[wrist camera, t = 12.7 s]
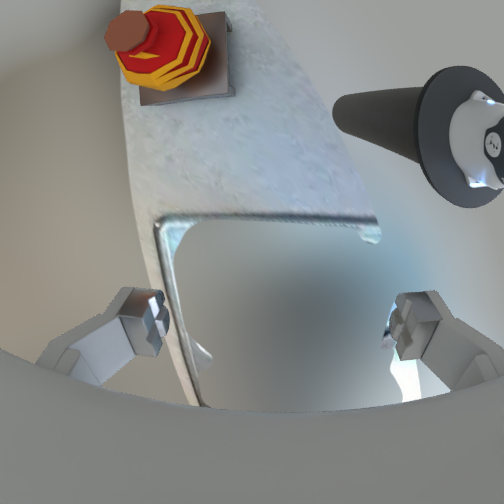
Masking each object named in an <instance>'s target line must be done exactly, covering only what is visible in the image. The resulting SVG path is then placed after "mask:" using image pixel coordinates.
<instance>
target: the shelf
mask: <svg viewBox="0 0 504 504" xmlns="http://www.w3.org/2000/svg"><path fill="white" fill-rule="evenodd" d="M196 16H197V17H198V19H199V21H200V23H201V25H202V26H203V28H204V30H205V32H206V34H207V35H208V37H209V39H210V41H211V43H210V46H209V49H208V52H207V55H206V58H205V61H204V64H203V66H202V67H201V69H200V71H199V73H197V74H195V75H194V76H192V77H190V78H189V79H187V80H186V81H184V82H183V83H181V84H180V85H178V86H177V87H175V88H172V89H169V90H166V91H160V90H156V89H152V88H147V87H143V86H139V90H140V104H141V106H152V105H164V104H170V103H177V102H183V101H191V100H199V99H208V98H218V97H230V96H235V88H233V87H231V86H229V67H228V46H227V32H232V25H231V23H230V21H229V19H228V17H227V15H226V13H225V11H224V12H215V13H208V14H201V15H196ZM208 44H209V43H208Z"/></svg>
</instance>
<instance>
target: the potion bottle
mask: <svg viewBox="0 0 504 504" xmlns="http://www.w3.org/2000/svg"><path fill="white" fill-rule="evenodd" d="M176 9H179V10H176ZM104 39H105V41H106V43H107V45H108V47H109V49H110V50H114V51H116V52H115V56H116V58H117V60H118V62H119V65H120V67H121V69H122V71H123V74H124V76H125V78H126V80H127V81H128V82H129V83H130V84H135V85H139V86H143V87H147V88H152V89H156V90H160V91H166V90H169V89H172V88H175V87H177V86H178V85H180V84H181V83H183V82H184V81H186V80H187V79H189V78H190V77H192V76H194V75H195V74H197V73H199V71H200V69H201V67H202V66H203V64H204V61H205V58H206V55H207V52H208V49H209V46H210V43H211V41H210V39H209V37H208V35H207V34H206V32H205V30H204V28H203V26H202V25H201V23H200V21H199V19H198V17H197V16H196V15H194V14H193V12H192V10H191V9H189V8H182V7H175V6H167V5H156V6H154V7H152V8H150V9H149V10H147V11H146V12H145V13H143V12H142V11H129V10H126V11H124V12H123V13H121V14H120V15H119V16H117V17H116V18H115V19H113V20H112V21H111V22H110V24H109V26H108V29H107V32H106V34H105V37H104ZM208 43H209V44H208Z"/></svg>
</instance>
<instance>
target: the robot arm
mask: <svg viewBox="0 0 504 504" xmlns="http://www.w3.org/2000/svg"><path fill="white" fill-rule="evenodd" d="M449 141H450V147H451V151H452V155H453V157H454V159H455V161H456V163H457V165H458V166H459V167H460V169H461V170H462V171H463V173H464V175H465V178H466V182H467V184H468V186H470V187H472V188H477V187H485V186H488V187H490V188H492V189H495V190H498V188H504V104H502V103H499V102H495V101H494V100H493V99H491V98H490V97H488V96H487V95H486V94H484V93H483V92H481V91H478V90H475V91H474V92H473V93H472V95H471V97H470V99H469V100H467V101H466V102H464V103H462V104H461V105H460V106H459V107H458V108H457V109H456V111H455V112H454V114H453V117H452V119H451V123H450V130H449ZM476 181H477V182H476ZM164 301H165V297H164V294H163V292H162V291H161V290H157V289H146V288H133V287H123V288H121V289H120V291H119V292H118V294H117V295H116V296H115V298H114V299H113V300H112V302H111V303H110V305H109V306H108V307H107V309H106V310H105V312H104V313H103V314H98V315H96V316H94V317H93V318H91V319H89V320H87V321H85V322H84V323H82V324H80V325H78V326H76V327H75V328H73V329H71V330H69V331H68V332H66V333H64V334H62V335H61V336H59V337H57V338H55V339H53V340H52V341H50V343H49V344H48V345H47V347H46V348H45V350H44V351H43V353H42V354H41V356H40V357H39V358H38V360H37V361H36V363H35V364H33V363H31V362H29V361H27V360H24V359H22V358H20V357H18V356H15V355H13V354H11V353H9V352H7V351H5V350H2V349H1V348H0V504H504V349H503V348H502V347H501V346H499V345H498V344H496V343H495V342H493V341H492V340H490V339H489V338H487V337H486V336H484V335H483V334H481V333H480V332H478V331H477V330H475V329H474V328H472V327H471V326H469V325H467V324H466V323H465V322H463V321H461V320H460V319H458V318H456V319H455V318H454V317H453V315H452V314H451V312H450V310H449V309H448V307H447V306H446V304H445V302H444V301H443V299H442V298H441V297H440V295H439V293H438V292H437V291H435V290H433V291H423V292H410V293H409V292H408V293H399V294H398V296H397V298H396V301H395V303H396V305H397V308H396V309H395V310H394V311H393V312H392V313H391V317H390V322H389V329H390V334H391V336H392V338H393V339H394V340H396V341H397V344H396V346H395V347H396V350H397V353H398V355H399V358H400V361H403V360H413V359H421V361H422V362H423V363H424V364H425V365H426V366H428V368H430V369H431V371H432V372H433V373H434V374H436V375H437V377H439V378H440V380H441V381H443V382H444V384H446V385H447V387H449V389H450V390H451V391H450V392H449V393H445V394H441V395H437V396H433V397H428V398H424V399H419V400H414V401H409V402H403V403H397V404H391V405H384V406H378V407H369V408H361V409H351V410H339V411H323V412H254V411H238V410H226V409H215V408H206V407H198V406H191V405H184V404H177V403H171V402H166V401H160V400H154V399H149V398H145V397H140V396H136V395H131V394H127V393H123V392H119V391H115V390H111V389H107V388H103V386H102V384H103V383H104V382H105V381H106V380H108V379H109V378H110V377H111V376H112V375H113V374H115V373H116V372H117V371H118V370H119V369H121V368H122V367H123V366H124V365H125V364H126V363H127V362H129V361H130V360H131V359H132V358H134V357H135V355H142V356H149V357H157V356H158V353H159V351H160V348H161V346H162V340H161V338H162V337H164V336H165V335H166V334H167V332H168V329H169V323H170V317H169V312H168V309H167V308H166V307H165V306H164V305H163V303H164Z"/></svg>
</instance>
